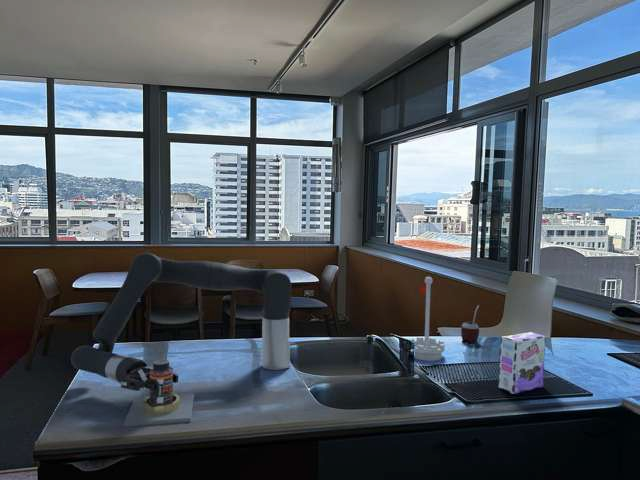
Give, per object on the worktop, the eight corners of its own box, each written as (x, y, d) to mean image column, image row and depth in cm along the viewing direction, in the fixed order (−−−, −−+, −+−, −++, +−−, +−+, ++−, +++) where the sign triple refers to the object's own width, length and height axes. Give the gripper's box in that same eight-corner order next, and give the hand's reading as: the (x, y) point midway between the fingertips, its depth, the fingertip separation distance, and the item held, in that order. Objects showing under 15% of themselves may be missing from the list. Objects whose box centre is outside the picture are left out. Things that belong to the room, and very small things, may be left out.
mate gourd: (462, 344, 191) (463, 308, 190) (459, 338, 198) (460, 304, 197) (481, 345, 189) (482, 309, 188) (477, 340, 197) (479, 305, 196)
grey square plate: (194, 396, 134) (194, 393, 134) (190, 421, 119) (190, 417, 119) (135, 400, 131) (135, 397, 131) (123, 426, 115) (123, 422, 115)
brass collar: (180, 398, 130) (180, 391, 130) (177, 413, 121) (177, 405, 121) (146, 401, 128) (146, 394, 128) (140, 415, 119) (140, 408, 119)
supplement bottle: (165, 408, 121) (165, 366, 120) (144, 406, 123) (144, 364, 122) (177, 399, 127) (176, 359, 126) (157, 397, 128) (157, 357, 127)
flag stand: (451, 357, 173) (454, 277, 171) (427, 363, 166) (429, 280, 164) (425, 348, 184) (427, 273, 182) (401, 354, 177) (403, 275, 175)
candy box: (513, 394, 139) (515, 340, 138) (497, 388, 144) (499, 335, 143) (544, 387, 146) (546, 335, 144) (527, 380, 151) (530, 330, 150)
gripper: (102, 364, 125) (145, 377, 117) (147, 350, 137) (188, 361, 129) (103, 391, 126) (145, 406, 117) (147, 375, 138) (188, 387, 130)
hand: (167, 382), depth 123 cm, fingers closed on supplement bottle, 6 cm apart
